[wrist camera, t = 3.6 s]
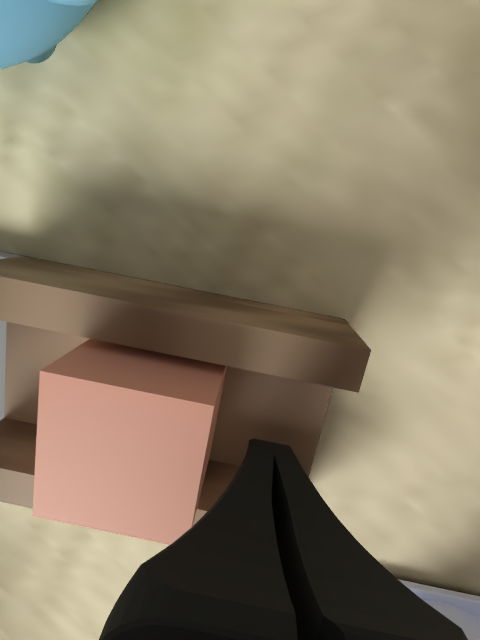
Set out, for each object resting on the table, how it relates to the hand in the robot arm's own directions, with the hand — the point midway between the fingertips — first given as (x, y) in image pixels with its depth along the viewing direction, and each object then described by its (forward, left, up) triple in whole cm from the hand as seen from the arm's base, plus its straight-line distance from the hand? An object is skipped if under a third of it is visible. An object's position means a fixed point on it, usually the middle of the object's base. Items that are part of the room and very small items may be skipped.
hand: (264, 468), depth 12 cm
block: (+4, 0, -4) cm, 6 cm away
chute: (+4, 0, -5) cm, 7 cm away
